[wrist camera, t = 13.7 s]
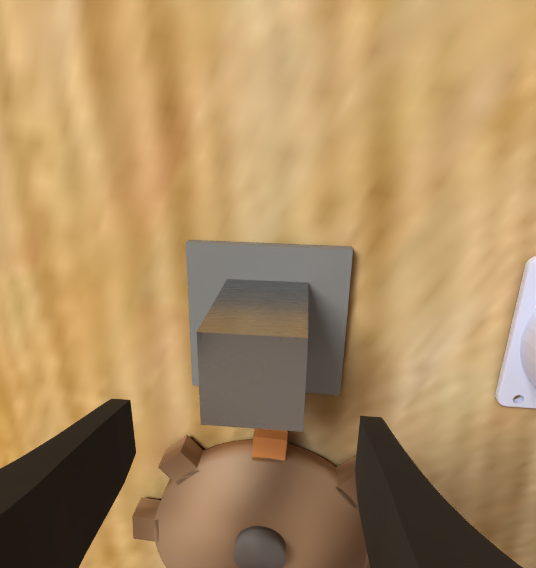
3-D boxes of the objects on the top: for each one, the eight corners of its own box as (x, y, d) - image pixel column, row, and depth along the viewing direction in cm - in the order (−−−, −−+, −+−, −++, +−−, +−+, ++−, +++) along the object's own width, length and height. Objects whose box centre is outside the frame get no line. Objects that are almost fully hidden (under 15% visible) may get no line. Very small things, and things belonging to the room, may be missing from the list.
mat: (351, 246, 20) (353, 250, 20) (339, 389, 23) (340, 396, 22) (189, 239, 21) (185, 243, 20) (195, 379, 24) (192, 386, 23)
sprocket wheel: (412, 438, 23) (442, 522, 18) (369, 626, 28) (382, 732, 23) (137, 405, 24) (91, 476, 19) (144, 592, 29) (110, 688, 24)
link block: (308, 282, 20) (308, 337, 15) (304, 355, 22) (303, 431, 16) (226, 278, 21) (196, 332, 15) (228, 350, 22) (200, 424, 16)
